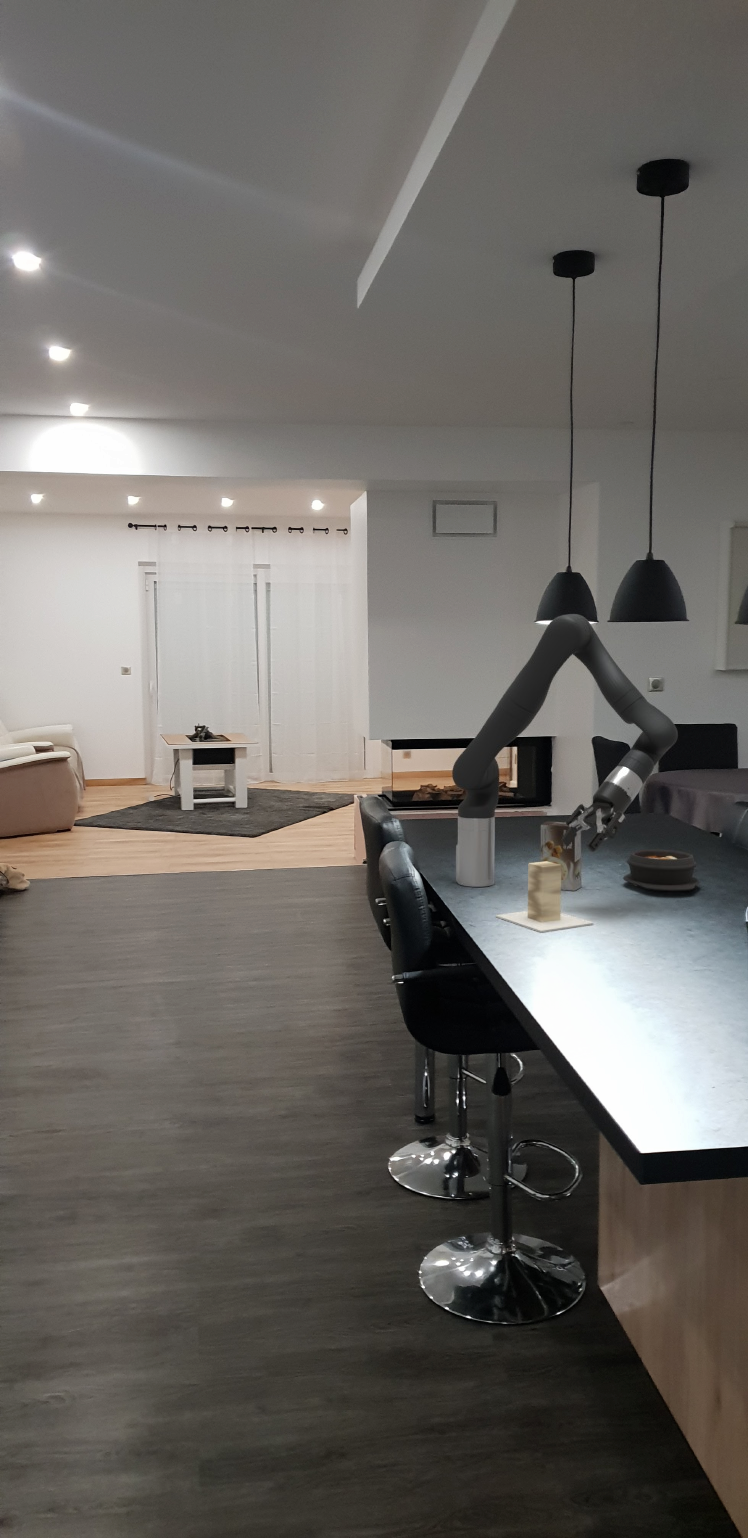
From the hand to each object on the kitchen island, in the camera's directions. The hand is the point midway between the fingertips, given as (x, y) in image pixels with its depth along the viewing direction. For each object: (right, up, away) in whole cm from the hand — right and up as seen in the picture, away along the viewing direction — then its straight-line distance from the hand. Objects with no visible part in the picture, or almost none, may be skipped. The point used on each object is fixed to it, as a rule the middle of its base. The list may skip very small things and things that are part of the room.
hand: (576, 846), depth 232 cm
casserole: (+27, -13, +33) cm, 45 cm away
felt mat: (-8, -16, -3) cm, 18 cm away
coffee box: (+2, -13, +32) cm, 35 cm away
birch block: (-8, -16, -3) cm, 18 cm away
